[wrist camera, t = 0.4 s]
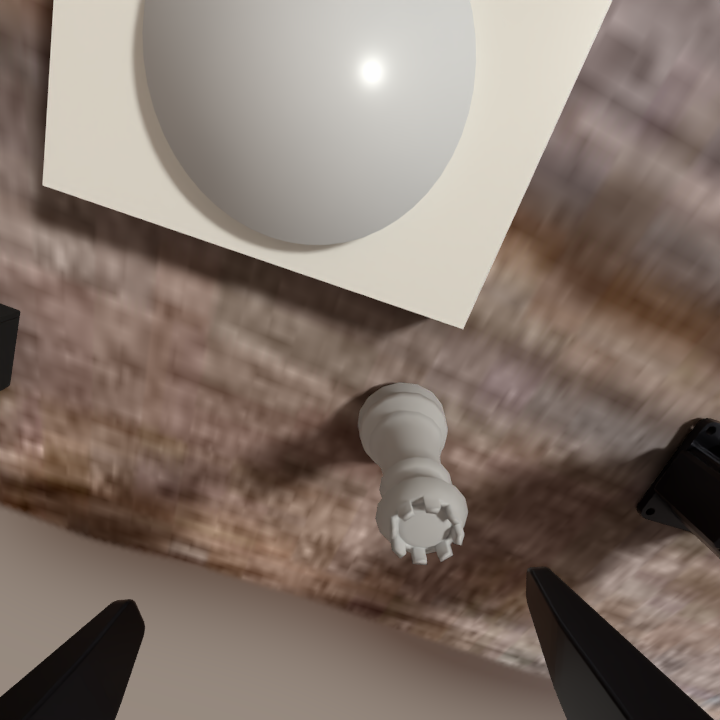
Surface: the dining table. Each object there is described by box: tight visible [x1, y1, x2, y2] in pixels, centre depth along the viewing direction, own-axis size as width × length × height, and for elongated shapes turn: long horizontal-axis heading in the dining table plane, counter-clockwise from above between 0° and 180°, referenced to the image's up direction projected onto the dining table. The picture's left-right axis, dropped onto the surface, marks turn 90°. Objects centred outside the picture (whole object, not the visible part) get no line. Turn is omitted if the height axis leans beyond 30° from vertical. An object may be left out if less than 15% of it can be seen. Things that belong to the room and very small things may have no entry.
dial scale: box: [43, 0, 612, 329], centre depth 12 cm, size 16×14×7 cm
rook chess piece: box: [358, 383, 468, 565], centre depth 17 cm, size 4×4×8 cm
